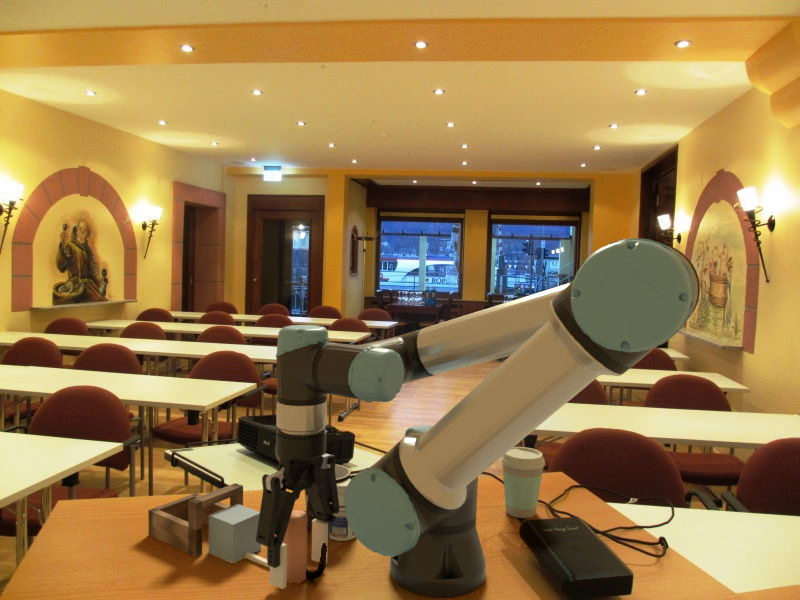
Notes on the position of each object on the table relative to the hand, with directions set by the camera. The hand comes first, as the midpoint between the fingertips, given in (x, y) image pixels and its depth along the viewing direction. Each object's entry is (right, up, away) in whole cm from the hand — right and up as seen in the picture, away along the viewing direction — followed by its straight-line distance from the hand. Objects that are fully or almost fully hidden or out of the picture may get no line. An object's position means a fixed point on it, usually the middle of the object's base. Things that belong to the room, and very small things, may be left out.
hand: (299, 572), depth 97 cm
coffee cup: (+39, 0, +28) cm, 48 cm away
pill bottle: (+5, 0, +16) cm, 17 cm away
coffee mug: (+2, +1, +20) cm, 20 cm away
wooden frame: (-20, +1, +14) cm, 25 cm away
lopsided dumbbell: (-7, -1, +5) cm, 9 cm away
